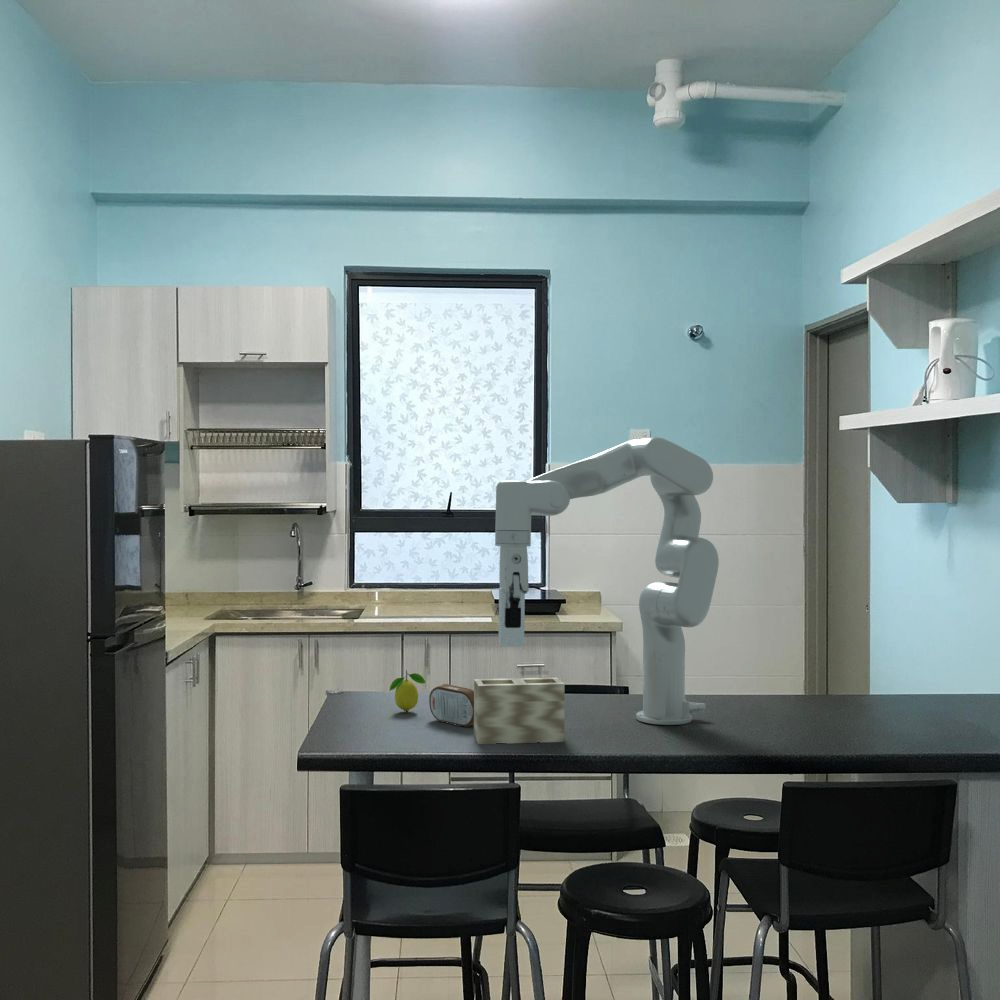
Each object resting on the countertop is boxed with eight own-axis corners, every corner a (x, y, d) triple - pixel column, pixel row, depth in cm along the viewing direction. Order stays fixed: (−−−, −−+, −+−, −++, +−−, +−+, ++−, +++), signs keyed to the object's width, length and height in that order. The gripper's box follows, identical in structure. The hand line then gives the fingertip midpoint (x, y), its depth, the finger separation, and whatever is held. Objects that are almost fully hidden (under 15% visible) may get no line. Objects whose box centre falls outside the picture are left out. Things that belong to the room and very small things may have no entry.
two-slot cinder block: (556, 733, 216) (556, 677, 216) (564, 741, 208) (564, 684, 208) (473, 735, 214) (474, 679, 214) (478, 744, 206) (478, 685, 206)
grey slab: (521, 644, 212) (522, 587, 213) (524, 646, 210) (524, 588, 210) (498, 644, 212) (499, 587, 212) (500, 646, 209) (501, 589, 209)
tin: (483, 728, 221) (483, 689, 221) (473, 730, 219) (473, 691, 219) (436, 718, 231) (436, 681, 231) (426, 720, 229) (426, 683, 229)
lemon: (425, 711, 239) (425, 669, 239) (412, 715, 233) (412, 672, 233) (401, 708, 242) (402, 667, 242) (388, 713, 236) (388, 670, 237)
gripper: (537, 540, 203) (536, 631, 203) (523, 538, 220) (522, 622, 219) (501, 540, 202) (499, 631, 202) (490, 537, 218) (488, 622, 218)
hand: (511, 625), depth 211 cm, fingers closed on grey slab, 3 cm apart
